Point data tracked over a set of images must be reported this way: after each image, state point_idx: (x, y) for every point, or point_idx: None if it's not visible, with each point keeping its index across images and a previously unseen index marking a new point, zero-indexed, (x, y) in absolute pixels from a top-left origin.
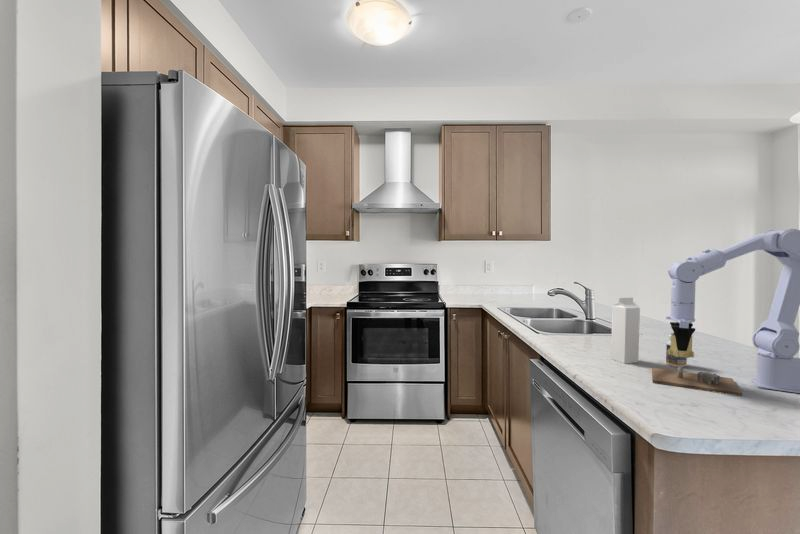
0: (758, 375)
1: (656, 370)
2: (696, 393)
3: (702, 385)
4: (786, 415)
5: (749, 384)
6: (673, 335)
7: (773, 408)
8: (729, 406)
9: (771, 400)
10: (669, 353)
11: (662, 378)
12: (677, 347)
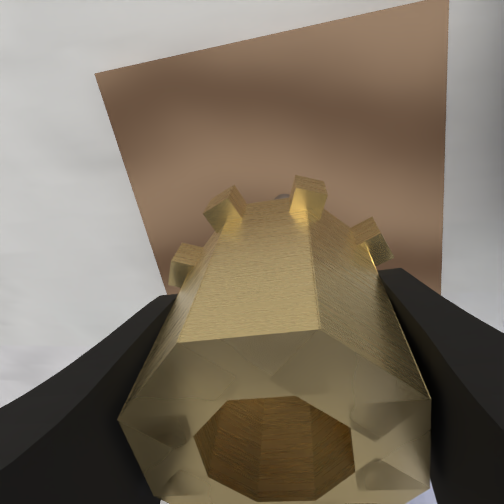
0: (428, 495)
1: (377, 46)
2: (99, 278)
3: None
4: None
5: None
6: (159, 362)
7: None
8: (37, 368)
9: None
10: (212, 200)
11: (180, 121)
12: (139, 311)
